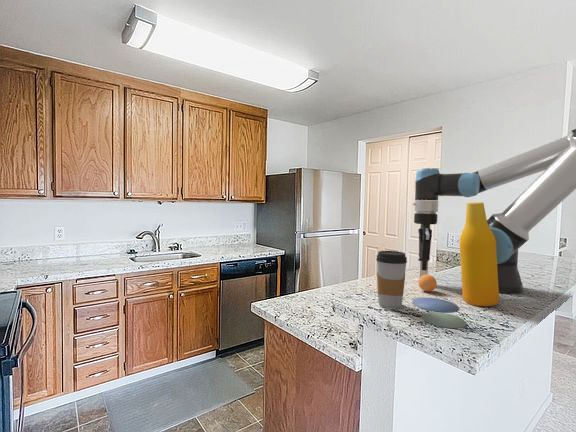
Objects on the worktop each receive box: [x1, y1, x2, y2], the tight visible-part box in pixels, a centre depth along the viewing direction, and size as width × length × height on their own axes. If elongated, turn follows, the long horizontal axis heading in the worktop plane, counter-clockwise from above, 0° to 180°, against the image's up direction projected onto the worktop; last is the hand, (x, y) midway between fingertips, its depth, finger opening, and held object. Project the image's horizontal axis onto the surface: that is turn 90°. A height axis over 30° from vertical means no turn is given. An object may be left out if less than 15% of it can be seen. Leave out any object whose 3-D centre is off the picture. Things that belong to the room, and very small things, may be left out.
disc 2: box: [421, 311, 467, 329], centre depth 80 cm, size 10×10×1 cm
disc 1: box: [412, 297, 459, 313], centre depth 91 cm, size 12×12×1 cm
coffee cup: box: [375, 250, 408, 310], centre depth 90 cm, size 8×8×15 cm
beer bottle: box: [459, 201, 500, 307], centre depth 93 cm, size 9×9×29 cm
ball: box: [418, 274, 437, 293], centre depth 105 cm, size 6×6×6 cm
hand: (423, 278), depth 114 cm, fingers closed
